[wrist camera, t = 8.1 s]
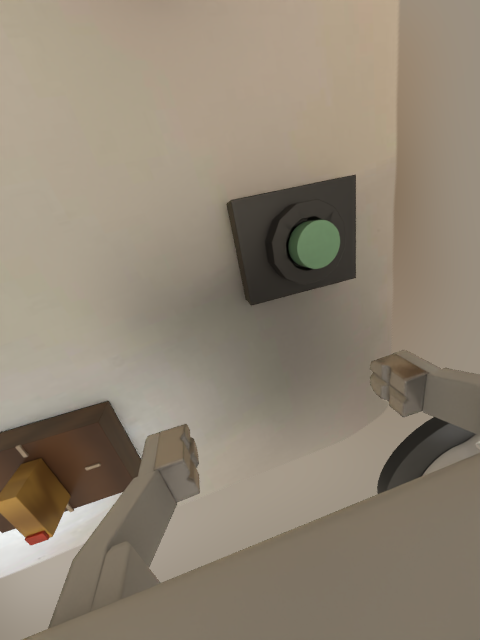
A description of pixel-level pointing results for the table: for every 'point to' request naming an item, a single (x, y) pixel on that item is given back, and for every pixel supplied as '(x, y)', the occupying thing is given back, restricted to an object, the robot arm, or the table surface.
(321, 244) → the release button
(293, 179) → the table surface
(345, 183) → the green mushroom switch plate
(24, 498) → the thumb turn
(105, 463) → the plate
